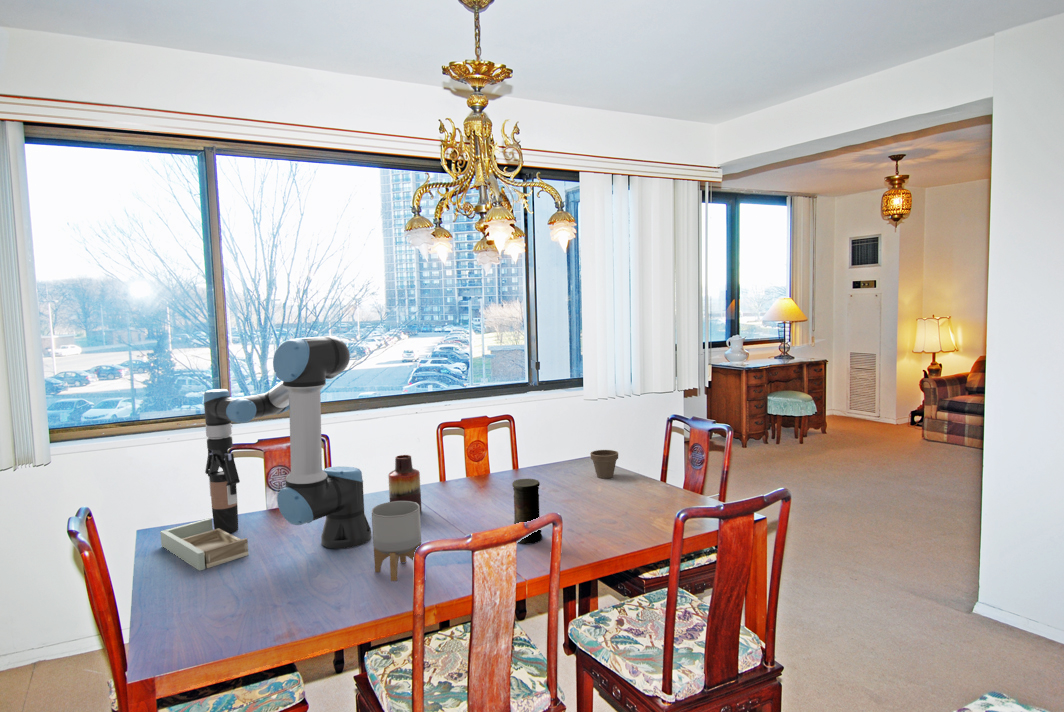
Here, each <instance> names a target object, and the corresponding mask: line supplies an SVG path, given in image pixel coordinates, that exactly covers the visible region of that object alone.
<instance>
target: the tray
mask: <svg viewBox="0 0 1064 712" xmlns="http://www.w3.org/2000/svg"><path fill="white" fill-rule="evenodd" d="M182 540H184V541H186V542H187V543H189V544H191V545H193V546H194V547H196V548H198V549H199V550H201V551H203V552H204V560H205V569H210V568H212V567H216V566H219V565H222V564H225V563H228V562H231V561H234V560H238V559H241V558H244V557H246V556H249V544H248V543H249V542H248V538H246V537H244V538H240V537H237V536H235V535H234V534H232V533H230V534H229V533H227V532H225V531H223V530H221V529H219V528H218V529H215V530H214V529H213V530H211V531H208V532H204V533H201V534H197V535H193V536H190V537H186V538H183V539H182Z"/></svg>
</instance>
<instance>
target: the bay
mask: <svg viewBox="0 0 1064 712" xmlns="http://www.w3.org/2000/svg"><path fill="white" fill-rule="evenodd" d="M211 530H214V526H213V518H211V517H210V518H206V519H202V520H201V519H200V520H197V521H194V522H191V523H185V524H182V525H180V526H175V527H172V528H168V529H167V528H166V529H164V530H161V531H159V532H160V533H159V534H160V543H161V545H160V546H161V548H163V547H164V548H166V549H167V550H166V549H165V550H166V551H168V550H169V551H170V552H169V551H168V552H169V553H171V552H172V553H173V555H174V554H175V555H176V556H175V555H174V556H175V557H177V556H178V557H177V558H179V559H180V558H181V559H180V560H182V561H183V560H184V562H185V563H187V564H189V565H190V566H191V567H193V568H194V569H197V570H198V571H199V572H201V571H203V570H206V567H205V560H204V552H203V551H201V550H199V549H198V548H196V547H194V546H193V545H191V544H189V543H187V542H186V541H184V540H182V539H183V538H186V537H190V536H193V535H197V534H201V533H204V532H208V531H211ZM164 548H163V549H164ZM172 553H171V554H172Z"/></svg>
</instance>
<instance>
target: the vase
mask: <svg viewBox="0 0 1064 712" xmlns="http://www.w3.org/2000/svg"><path fill="white" fill-rule="evenodd" d="M394 461H395V462H394V470H392V471H390V472H389V473H388V475H387V478H388V495H389V502H393V501H411V502H415V503H417V504H419V506H420V515H421V514H422V497H421V496H422V492H421V491H422V490H421V473H420V471H419V470H418V469H415V468H413V459H412V455H409V454H401V455H397V456H395V460H394Z"/></svg>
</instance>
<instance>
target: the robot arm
mask: <svg viewBox="0 0 1064 712" xmlns="http://www.w3.org/2000/svg"><path fill="white" fill-rule="evenodd" d="M350 355H351V353H350V350H349V347H348V346H347V344H346V343H345V342H344V341H343V340H342V339H340V338H338V337H336V336H331V335H323V336H314V337H313V336H311V337H310V336H309V337H296V338H292V339H287V340H284V341H282V342H281V343H280V344H279V346H278V347H277V348H276V350H275V352H274V354H273V361H272V365H273V371H274V373H275V376H276V377H277V378H278V380H280V382H279V383H277V384H276V385H275V386H274V387H272V388H271V389H270V390H268V391H267V392H264V393H259V394H254V395H252V394H251V395H247V396H241V397H239V396H238V397H231V395H230V391H229V390H228V389H225V388H215V389H209V390H205V392H204V394H203V407H204V409H203V410H204V419H205V421H204V422H205V437H206V438H207V439H206V447H207V448H206V449H207V460H206V465H205V470H204V471H205V472H204V473H205V475H207V476H208V484H209V496H210V497H211V487H210V473H211V472H213V471H218V472H219V470H220V468H221V470H222V471H223V472H224V475H225V477H226V480H227V482H228V483H227V484H226V486H227V496H228V505H231V504H235V503H237V504H238V489H237V484H239V483H240V477H239V473H238V470H237V466H236V462H235V457H234V453H233V452H231V453H229V449H231V448H232V447H233V445H234V444H233V436H232V433H233V432H232V428H233V424H232V422H233V423H237V424H241V423H242V424H247V423H249V422H250V421H252V420H253V419H259V418H262V417H263V418H264V417H267V416H274V415H279V414H282V413H286V412H288V411H289V440H290V441H289V445H290V447H289V448H290V449H289V450H290V472H289V473H288V475H287V476H286V477H285V487H282V488H281V489H280V490H279V492H278V493H277V498H276V501H277V507H278V509H279V510H278V511H279V512H280V514H281V515H282V516H283V518H284V520H285V521H287V522H288V523H289V524H291V525H294V526H302V525H305V524H310V523H312V522H313V521H316V520H319V519H322V518H324V517H325V521H324V524H323V528H322V531H321V532H322V533H321V536H320V539H321V542H320V543H321V546H323V547H324V548H327V549H334V550H335V549H336V550H341V549H342V550H344V549H351V548H356V547H359V546H361V545H364V544H366V543H368V542H369V541H370V540H371V539H372V529H371V527H370V524H369V521H368V519H367V516H366V514H365V502H364V501H365V500H364V499H365V497H364V480H363V473H362V470H361V469H360V468H357V467H354V466H329V467H326V468H324V469H323V459H322V458H323V456H322V455H323V452H322V451H323V450H322V447H323V446H322V412H321V411H322V410H321V408H322V406H321V403H322V402H321V390H322V389H323V388H324V387H325V386H326V383H327V382H326V380H331V379H334V378H335V377H337V376H339V375H340V374H341V373H342V372H344V371H345V370H346V369H347V368H348V366H349V363H350V359H351V358H350Z"/></svg>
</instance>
